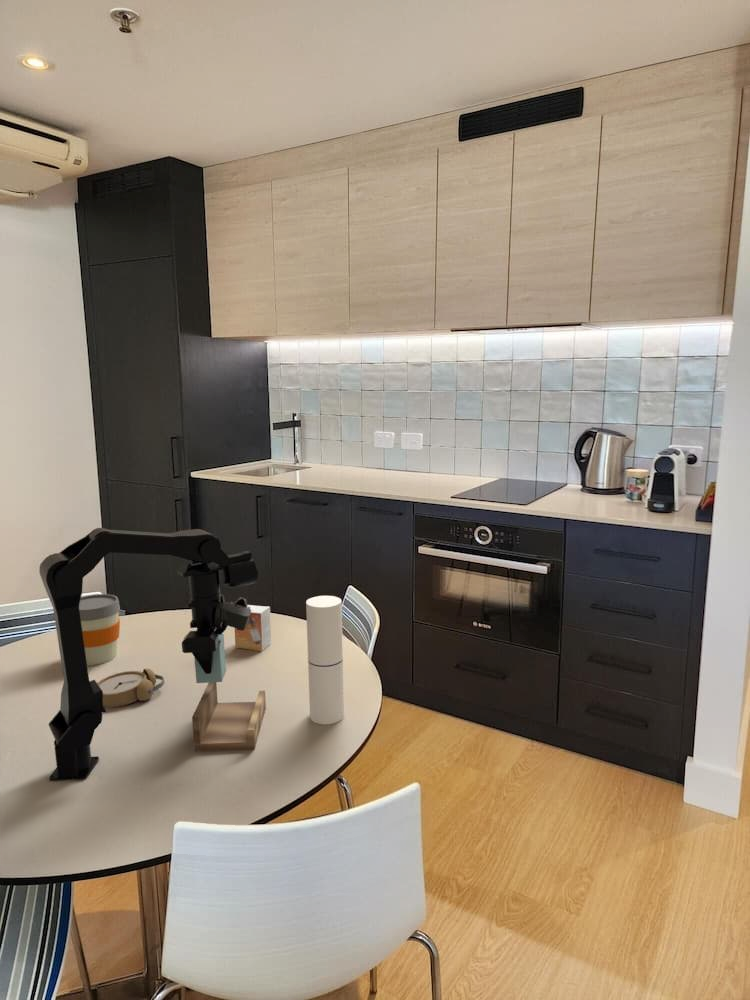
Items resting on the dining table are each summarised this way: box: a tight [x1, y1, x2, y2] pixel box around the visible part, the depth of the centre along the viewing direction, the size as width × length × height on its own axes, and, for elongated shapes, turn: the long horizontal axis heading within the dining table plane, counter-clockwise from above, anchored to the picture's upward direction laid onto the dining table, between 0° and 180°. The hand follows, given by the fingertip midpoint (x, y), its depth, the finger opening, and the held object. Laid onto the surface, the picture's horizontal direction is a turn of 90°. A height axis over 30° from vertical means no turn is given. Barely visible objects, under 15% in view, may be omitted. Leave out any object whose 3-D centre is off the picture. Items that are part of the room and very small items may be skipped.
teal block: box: [193, 633, 227, 684], centre depth 130 cm, size 5×5×8 cm
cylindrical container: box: [305, 595, 345, 725], centre depth 133 cm, size 7×7×25 cm
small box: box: [234, 604, 272, 652], centre depth 171 cm, size 8×6×10 cm
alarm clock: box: [97, 667, 165, 708], centre depth 146 cm, size 11×5×15 cm
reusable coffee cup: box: [79, 593, 121, 666], centre depth 165 cm, size 13×13×15 cm
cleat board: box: [191, 682, 267, 752], centre depth 131 cm, size 16×11×7 cm
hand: (210, 667), depth 131 cm, fingers closed on teal block, 5 cm apart
